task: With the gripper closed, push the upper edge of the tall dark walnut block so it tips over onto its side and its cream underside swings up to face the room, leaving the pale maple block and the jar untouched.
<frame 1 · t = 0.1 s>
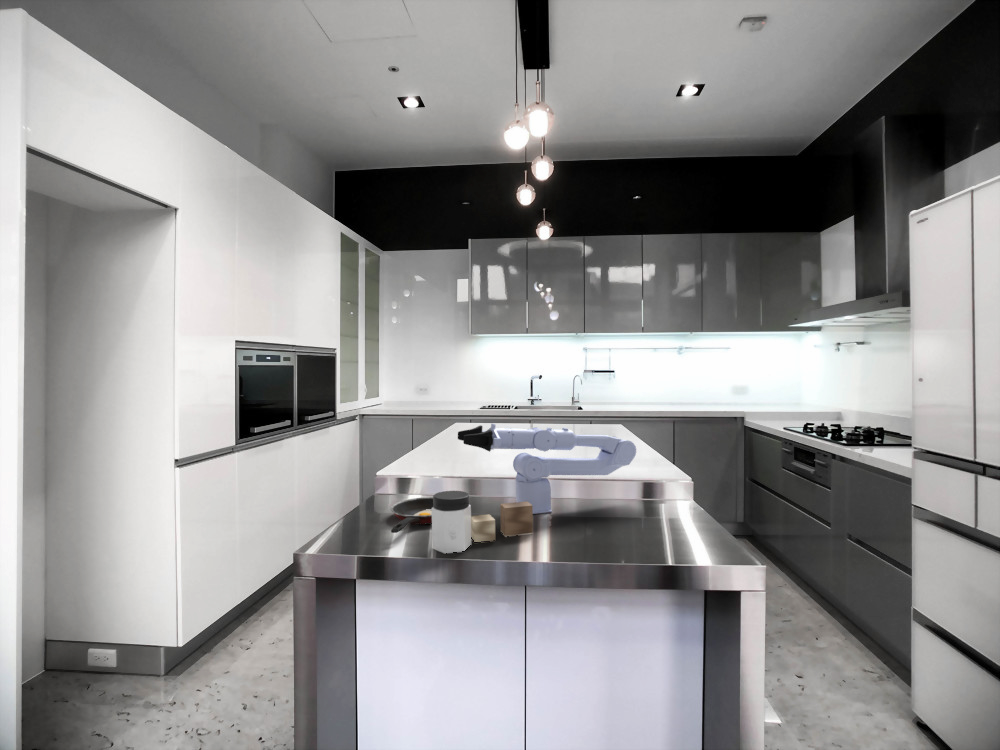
hand: (460, 437, 144), 22 cm above the worktop, tool horizontal, fingers open, 7 cm apart
walnut block: (516, 532, 131), on the worktop
maple block: (482, 538, 127), on the worktop
frying pan: (417, 525, 139), on the worktop
jar: (452, 548, 121), on the worktop
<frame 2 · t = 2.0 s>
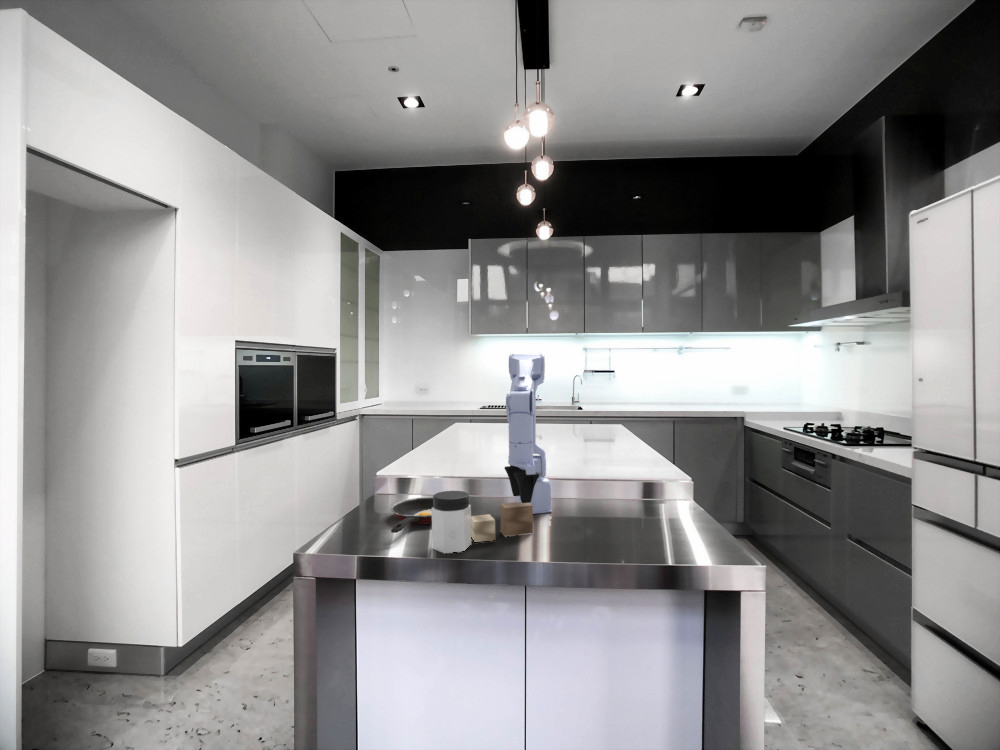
hand: (521, 499, 126), 9 cm above the worktop, tool pointing down, fingers open, 6 cm apart
nothing on the worktop moved.
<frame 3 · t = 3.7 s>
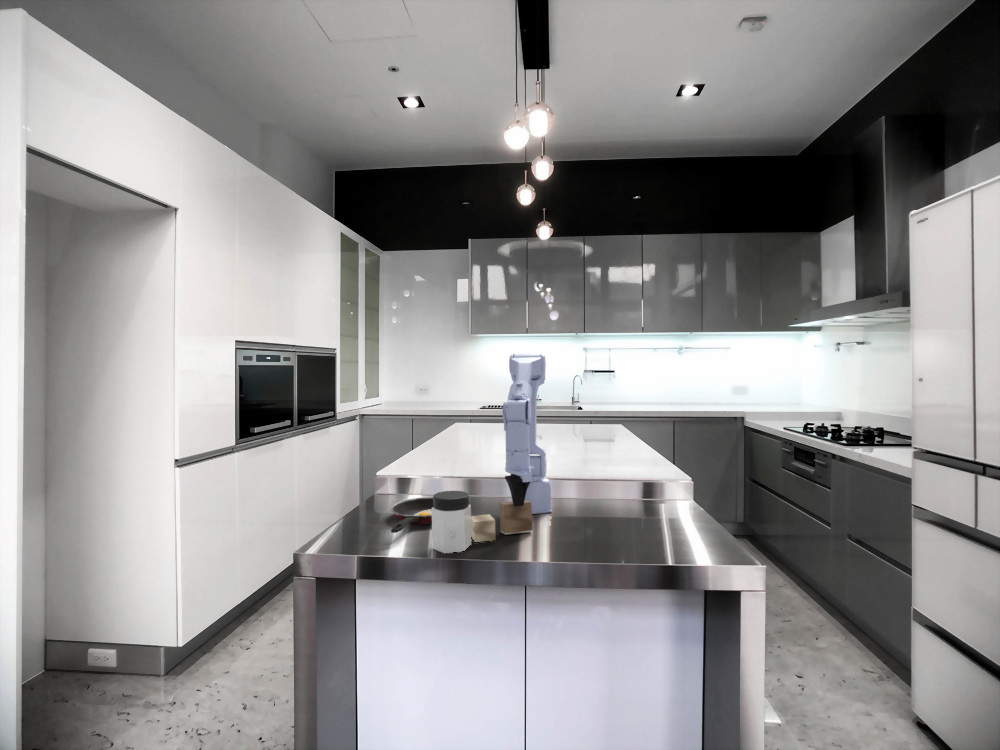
hand: (518, 505, 129), 7 cm above the worktop, tool pointing down, fingers closed
walnut block: (516, 531, 131), on the worktop, tilted 8°
everything else where it was.
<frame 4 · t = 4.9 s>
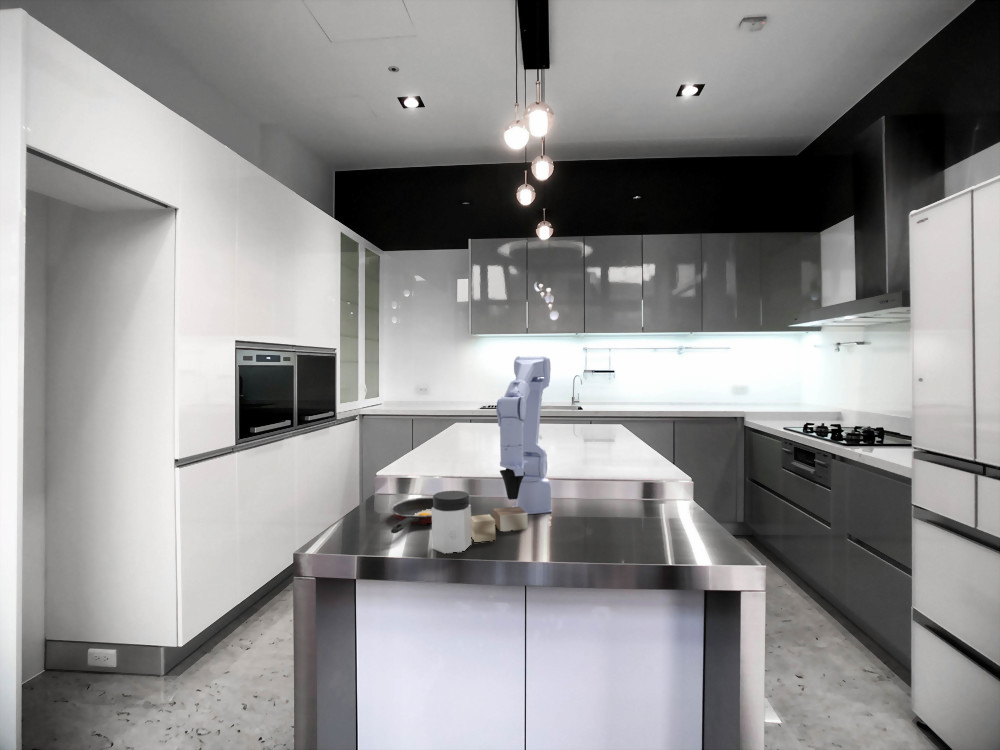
hand: (512, 498, 133), 8 cm above the worktop, tool pointing down, fingers closed
walnut block: (514, 522, 133), point 2 cm above the worktop, tilted 90°
everything else where it was.
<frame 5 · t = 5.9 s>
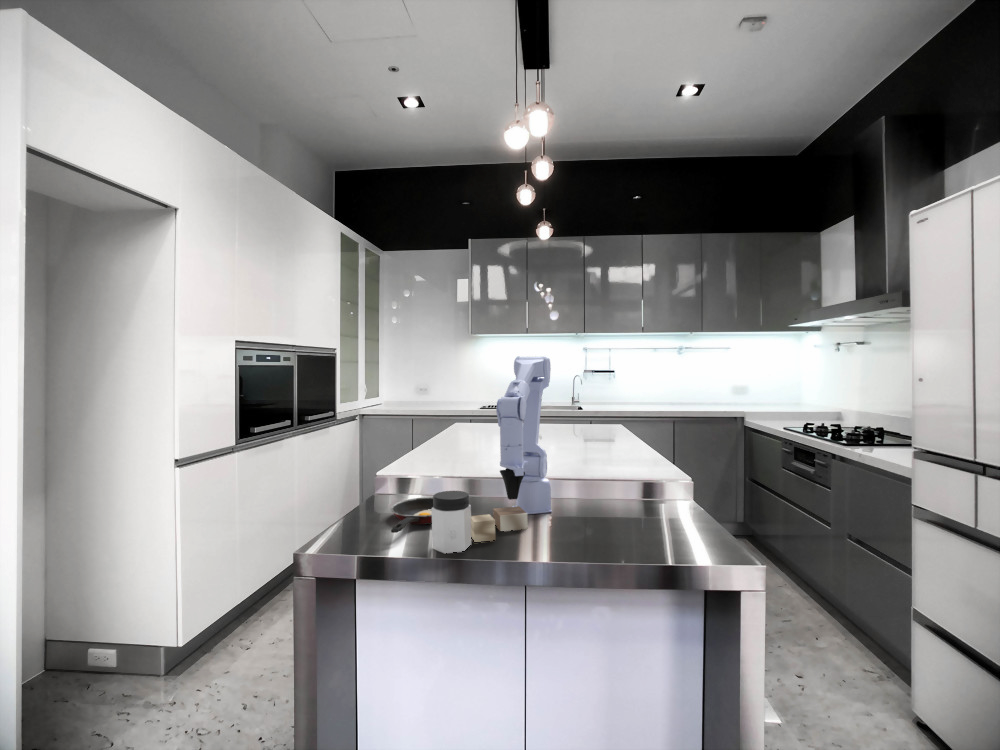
hand: (512, 498, 133), 8 cm above the worktop, tool pointing down, fingers closed
nothing on the worktop moved.
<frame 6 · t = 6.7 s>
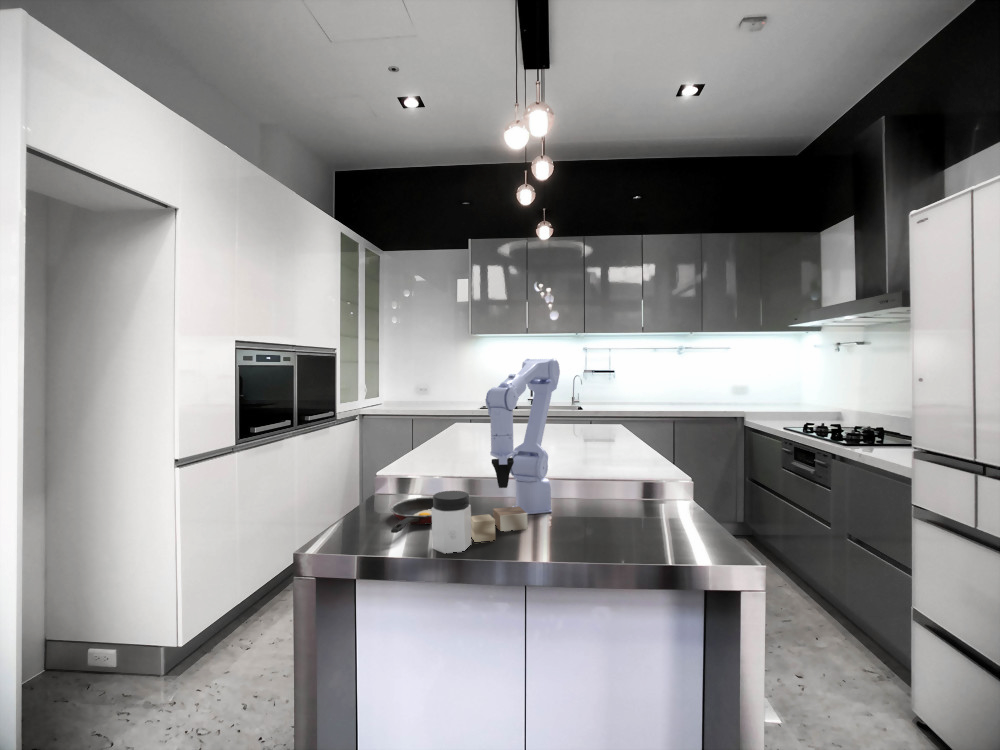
hand: (503, 487, 136), 10 cm above the worktop, tool pointing down, fingers closed
nothing on the worktop moved.
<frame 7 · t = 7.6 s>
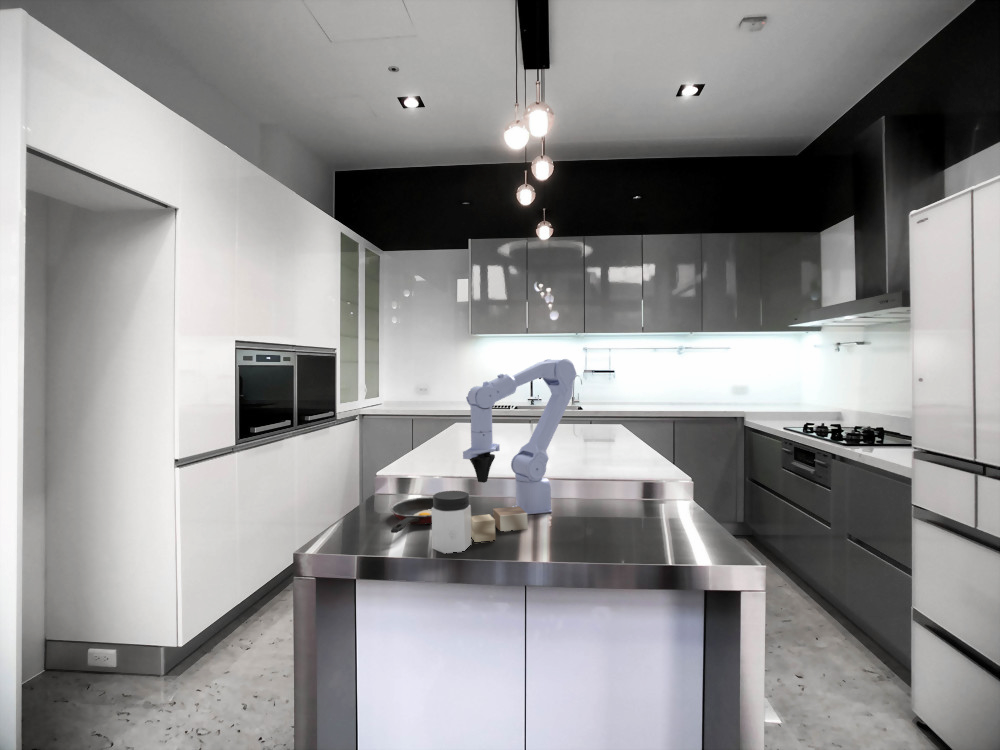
hand: (482, 481, 143), 10 cm above the worktop, tool pointing down, fingers closed
nothing on the worktop moved.
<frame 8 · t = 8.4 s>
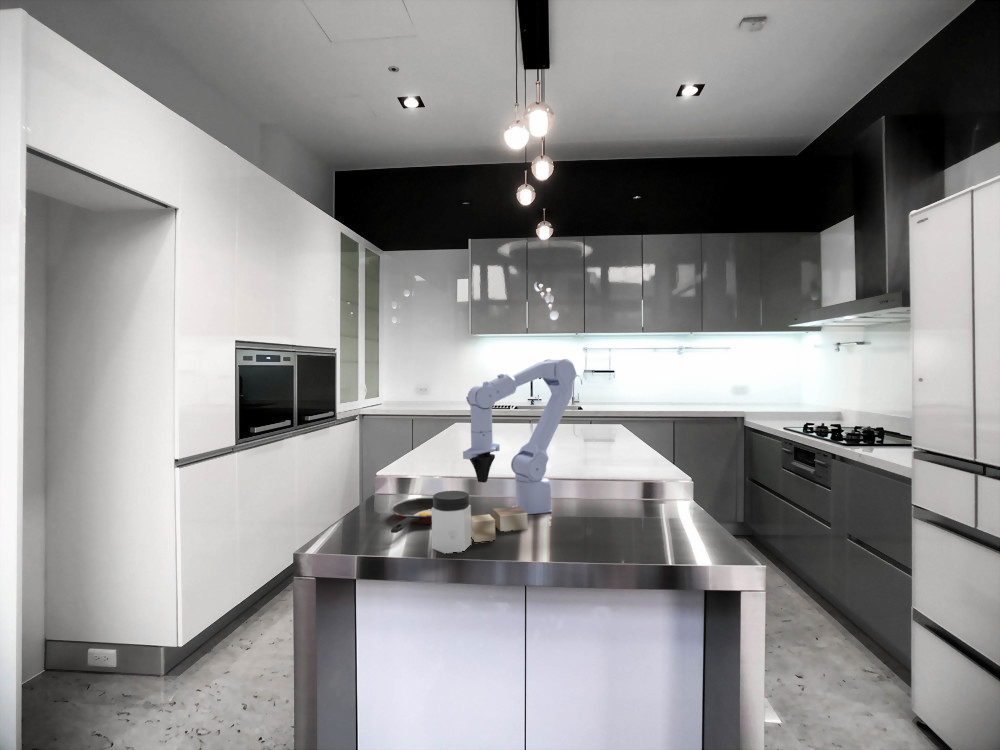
hand: (482, 481, 143), 10 cm above the worktop, tool pointing down, fingers closed
nothing on the worktop moved.
at the end: walnut block tilted 90°; walnut block inside the target area (1.2 cm from its centre), point 1.9 cm above the worktop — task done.
